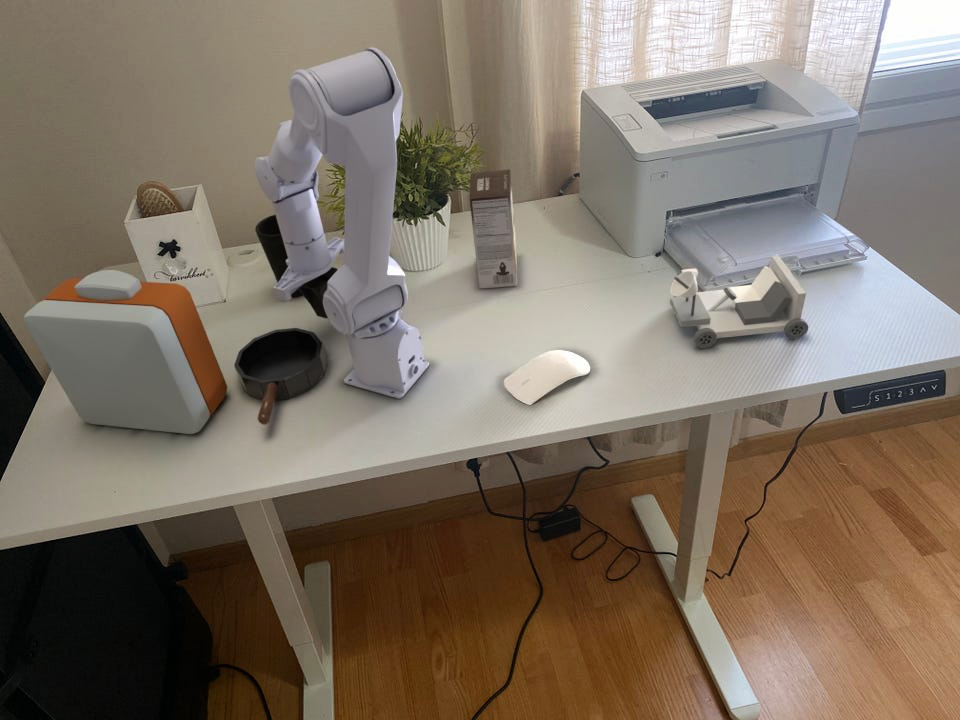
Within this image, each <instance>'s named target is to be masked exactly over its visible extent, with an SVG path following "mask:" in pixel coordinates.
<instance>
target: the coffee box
mask: <svg viewBox="0 0 960 720" xmlns="http://www.w3.org/2000/svg"><path fill="white" fill-rule="evenodd" d="M513 196H514V195H513V183H512V171H511V169H509V168H508V169H500V170H499V169H498V170H487V171H486V170H485V171H480V172H472V173H470V181H469V207H470V216H471V226H472V234H473V245H474V253H475V261H476V262H475V263H476V270H477V271H476V272H477V280H478V281H477V282H478V287H479V289H494V288H507V287H517V286H518V262H517V242H516V241H517V239H516V225H515V211H514V210H515V209H514V199H513V198H514V197H513Z"/></svg>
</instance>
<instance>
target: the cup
mask: <svg viewBox="0 0 960 720" xmlns="http://www.w3.org/2000/svg"><path fill="white" fill-rule="evenodd" d="M254 231H255V234H256V236H257V237H258V240H259V242H260V245H261V247H262V250H263V252H264V254H265V257H266V259H267V262H268V264H269V266H270V268H271V271H272V273H273V275H274V277H275V280H276V282H277V283H278V282H279V281H280V279H281V278H282V276H283V274H284V273H285V271H286V269H287V268H288V265H287V264H286V260H287V259H288V256H287V252H286V249H285V245H284V242H283V239H282V235H281V232H280V228H279V225H278V221H277V218H276V215H275V214H272V215H269V216H267V217H265V218H263V219H261V220H260V221H259V222H258V223H257V224H256V226H255V228H254ZM291 297H292V298H299V297H304V296H303V295H302V294H301V293H300V292H299V291H298V290H296V291H295V292H293V293H292V294H291Z"/></svg>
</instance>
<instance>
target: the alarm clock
mask: <svg viewBox="0 0 960 720" xmlns="http://www.w3.org/2000/svg"><path fill="white" fill-rule="evenodd" d="M23 321H24V322H23V323H24V325H25V326H26V327H25V328H26V329H27V331H28V332H29V333H30V335H31V337H32V338H33V341H34V342H35V343H36V345H37V347H38V350H39V351H40V352H41V354H42V356H43V358H44V359H45V361H46V363H47V364H48V366H49V368H50V369H51V371H52V373H53V374H54V376H55V378H56V380H57V381H58V383H59V385H60V386H61V388H62V390H63V392H64V393H65V395H66V396H67V398H68V400H69V401H70V404H71V405H72V407H73V409H74V410H75V412H76V414H77V415H78V417H79V419H81V420H82V421H83V422H85V423H88V424H90V425H98V426H108V427H118V428H128V429H137V430H147V431H155V432H166V433H167V432H168V433H177V434H184V435H193V434H197V433H199V432H200V431H201V430H202V429H203V427H204V426H205V424H206V423H207V422H208V421H209V419H210V417H211V416H212V415H213V413H214V412H215V411H216V410H217V408H218V407H219V405H220V404H221V403H222V401H223V400H224V399H225V397H226V396H227V394H228V393H227V392H228V384H227V381H226V378H225V377H224V374H223V371H222V369H221V367H220V364H219V362H218V359H217V357H216V354H215V352H214V349H213V347H212V344H211V342H210V339H209V337H208V334H207V332H206V328H205V327H204V324H203V322H202V319H201V317H200V314H199V311H198V309H197V307H196V304H195V301H194V299H193V297H192V294H191V292H190V291H189V290H188V288H187V287H186V286H184V285H182V284H179V283H174V282H155V281H154V282H153V281H140V280H139V278H137V277H135V276H134V275H132V274H129V273H127V272H123V271H120V270H116V269H104V270H99V271H94V272H92V273H90V274H88V275H85V276H84V277H83V278H76V277H75V278H74V277H73V278H68V279H66V280H64V281H63V282H61V283H60V284H59V285H57V287H55V288H54V289H53V290H52V291H50V292H49V293H48V294H47V295H46V296H45V297H44V298H42V299H41V300H40V301H39V302H38V303H36V304H35V305H34V306H33V307H32V308H30V309H29V310H28V311H27V312H26V313H24V317H23Z"/></svg>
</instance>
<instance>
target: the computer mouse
mask: <svg viewBox="0 0 960 720" xmlns="http://www.w3.org/2000/svg"><path fill="white" fill-rule="evenodd" d="M590 372H591V365H590V364H589V362H588V361H587V360H586V359H585V358H583V357H582V356H580V355H578V354H576V353H575V352H571V351H568V350H563V349H556V350H555V349H554V350H548V351H546V352H543V353H541V354H540V355H537V356H536V357H533V358H532V359H531V360H529V361H527V362H526V363H525V364H522V366H520V367H519V368H518V369H516V370H515V371H513V372H512V373H511V374H509V375H508V376H507V377H506V378H504V379H503V385H504V387H505V390H507V392H508V393H509V394H510V395H511V396H512V397H514V399H516V400H518V401H520V402H521V403H524V404H525V405H528V406H532V405H533V404H534V403H536V402H537V401H538V400H539V399H541V398H542V397H544V396H545V395H547V394H548V393H550V392H551V391H553V390H554V389H556V388H558V387H559V386H561V385H562V384H564V383H565V382H568V381H569V380H571V379H575V378H578V377H581V376H586V375H588V374H589V373H590Z"/></svg>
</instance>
